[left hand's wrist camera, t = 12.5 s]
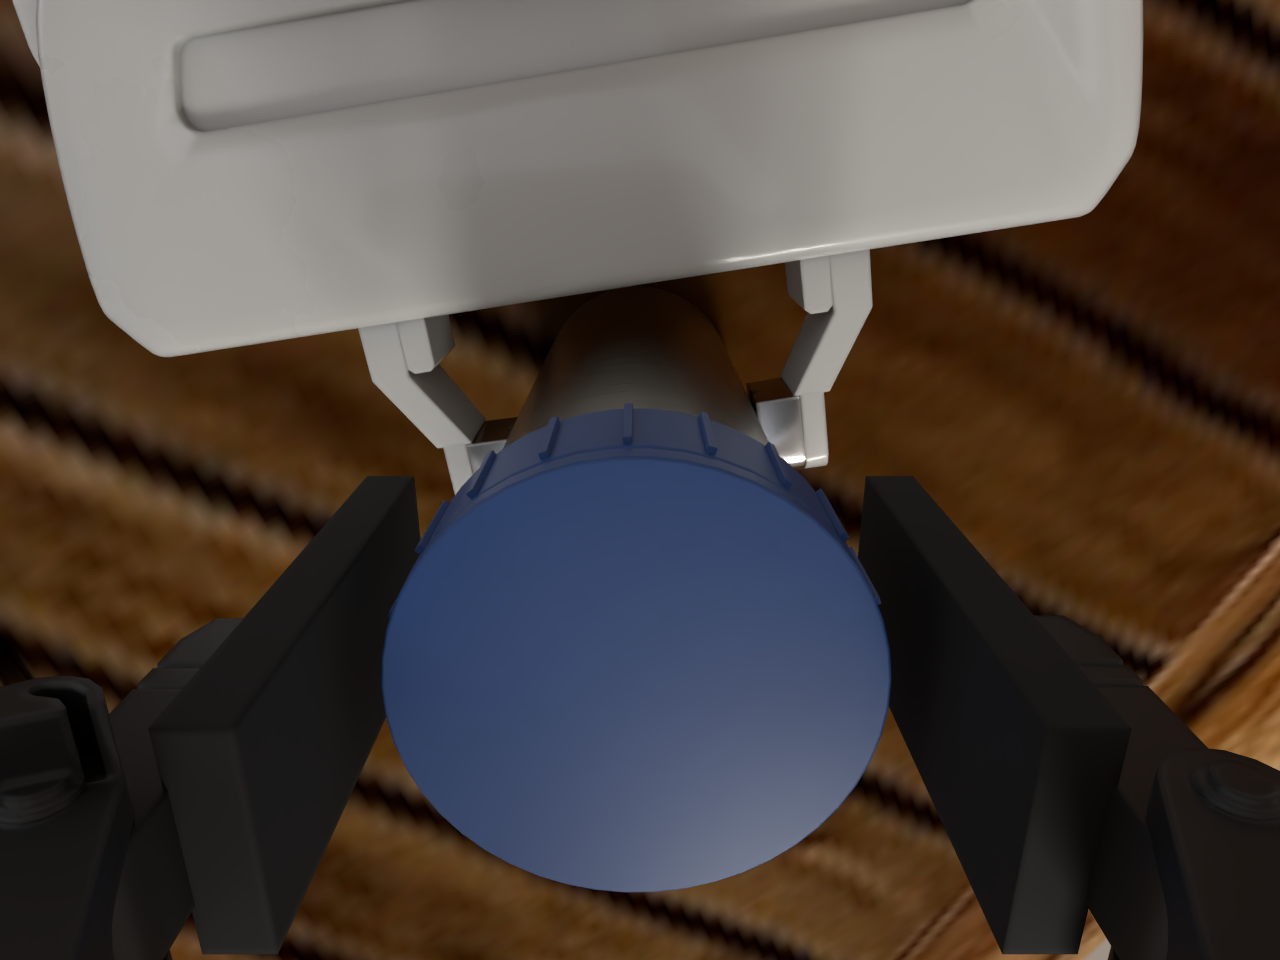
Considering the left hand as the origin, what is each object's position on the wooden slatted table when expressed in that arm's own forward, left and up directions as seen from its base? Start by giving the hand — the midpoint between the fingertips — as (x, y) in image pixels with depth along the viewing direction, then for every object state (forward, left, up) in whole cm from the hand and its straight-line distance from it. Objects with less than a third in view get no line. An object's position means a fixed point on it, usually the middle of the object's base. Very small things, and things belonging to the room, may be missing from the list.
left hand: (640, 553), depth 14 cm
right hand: (0, -1, -6) cm, 6 cm away
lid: (0, 0, +4) cm, 4 cm away
